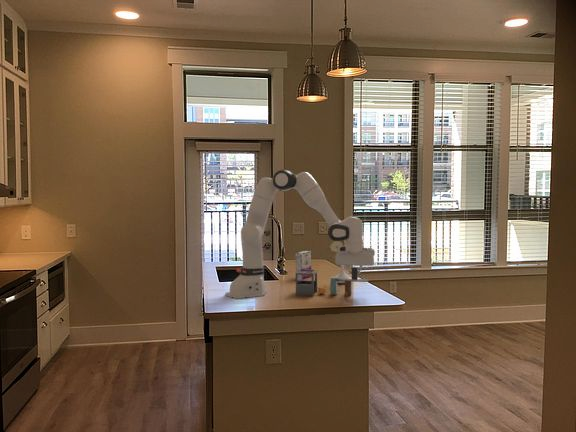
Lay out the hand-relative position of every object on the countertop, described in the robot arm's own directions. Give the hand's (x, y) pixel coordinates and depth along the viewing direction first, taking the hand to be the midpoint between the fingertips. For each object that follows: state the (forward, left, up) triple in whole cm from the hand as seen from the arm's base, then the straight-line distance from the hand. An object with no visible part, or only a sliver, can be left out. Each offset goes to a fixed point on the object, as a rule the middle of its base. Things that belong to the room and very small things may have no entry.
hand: (354, 273), depth 263 cm
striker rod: (-2, +2, -11) cm, 11 cm away
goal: (-16, +20, -11) cm, 28 cm away
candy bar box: (+13, +58, -12) cm, 60 cm away
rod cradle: (-2, +3, -11) cm, 12 cm away
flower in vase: (+19, +30, -12) cm, 37 cm away
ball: (-11, +13, -9) cm, 20 cm away
